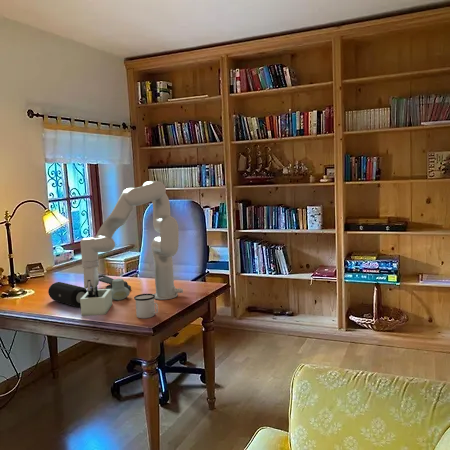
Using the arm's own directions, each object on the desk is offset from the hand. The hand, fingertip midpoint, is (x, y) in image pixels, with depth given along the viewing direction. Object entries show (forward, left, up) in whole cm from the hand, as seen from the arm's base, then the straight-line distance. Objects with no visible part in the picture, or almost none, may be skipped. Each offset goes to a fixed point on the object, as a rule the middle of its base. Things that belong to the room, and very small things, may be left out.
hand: (93, 300), depth 227 cm
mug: (-27, +14, -5) cm, 31 cm away
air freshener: (-8, -18, -5) cm, 20 cm away
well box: (-1, 0, -5) cm, 5 cm away
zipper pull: (0, -39, -5) cm, 40 cm away
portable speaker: (+16, -14, -5) cm, 22 cm away
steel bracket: (-1, 0, -2) cm, 3 cm away
